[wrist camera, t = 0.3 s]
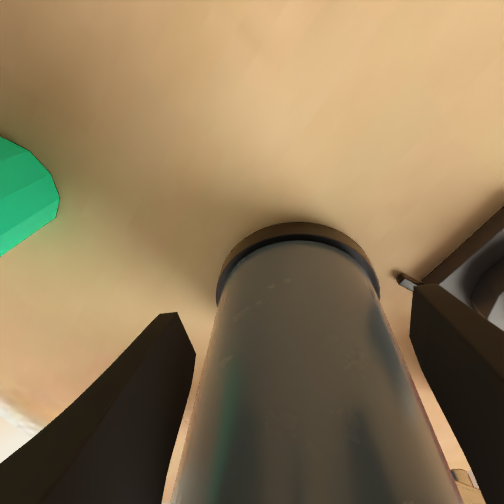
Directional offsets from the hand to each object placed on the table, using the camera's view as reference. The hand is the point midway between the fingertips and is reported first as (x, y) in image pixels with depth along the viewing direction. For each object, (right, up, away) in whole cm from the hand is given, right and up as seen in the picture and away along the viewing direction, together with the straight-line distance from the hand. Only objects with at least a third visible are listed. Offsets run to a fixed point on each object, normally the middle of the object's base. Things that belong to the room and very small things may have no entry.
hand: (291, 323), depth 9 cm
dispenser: (+5, -2, +13) cm, 14 cm away
